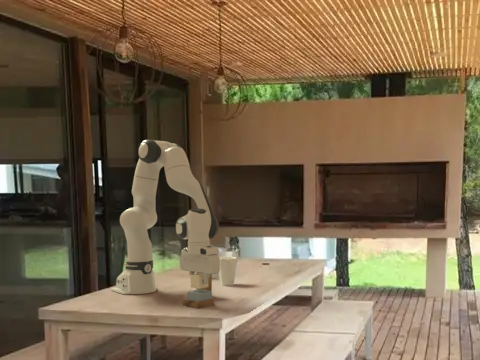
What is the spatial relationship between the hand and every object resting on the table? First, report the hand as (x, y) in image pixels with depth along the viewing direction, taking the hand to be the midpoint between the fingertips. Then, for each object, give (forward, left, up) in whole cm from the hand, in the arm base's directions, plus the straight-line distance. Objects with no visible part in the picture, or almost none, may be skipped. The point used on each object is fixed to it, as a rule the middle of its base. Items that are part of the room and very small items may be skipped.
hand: (199, 283), depth 226 cm
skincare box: (-11, +13, -9) cm, 19 cm away
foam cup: (-24, +41, -9) cm, 48 cm away
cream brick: (0, 0, -2) cm, 2 cm away
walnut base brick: (0, -1, -9) cm, 9 cm away
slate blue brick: (0, 0, -6) cm, 6 cm away
